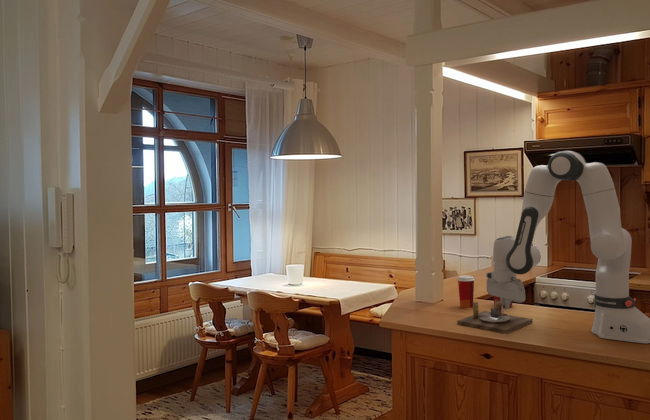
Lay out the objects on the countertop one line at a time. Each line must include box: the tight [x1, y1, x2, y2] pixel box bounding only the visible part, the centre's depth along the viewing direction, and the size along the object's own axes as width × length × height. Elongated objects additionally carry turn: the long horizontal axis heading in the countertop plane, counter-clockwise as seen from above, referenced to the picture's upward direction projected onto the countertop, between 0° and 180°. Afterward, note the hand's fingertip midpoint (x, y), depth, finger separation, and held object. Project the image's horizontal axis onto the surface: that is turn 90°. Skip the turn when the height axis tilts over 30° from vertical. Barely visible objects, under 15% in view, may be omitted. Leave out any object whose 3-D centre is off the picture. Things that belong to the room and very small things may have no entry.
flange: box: [479, 301, 510, 323], centre depth 235 cm, size 15×12×5 cm
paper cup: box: [456, 274, 475, 309], centre depth 262 cm, size 8×8×14 cm
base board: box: [456, 301, 533, 335], centre depth 234 cm, size 22×20×8 cm
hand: (506, 309), depth 238 cm, fingers closed
